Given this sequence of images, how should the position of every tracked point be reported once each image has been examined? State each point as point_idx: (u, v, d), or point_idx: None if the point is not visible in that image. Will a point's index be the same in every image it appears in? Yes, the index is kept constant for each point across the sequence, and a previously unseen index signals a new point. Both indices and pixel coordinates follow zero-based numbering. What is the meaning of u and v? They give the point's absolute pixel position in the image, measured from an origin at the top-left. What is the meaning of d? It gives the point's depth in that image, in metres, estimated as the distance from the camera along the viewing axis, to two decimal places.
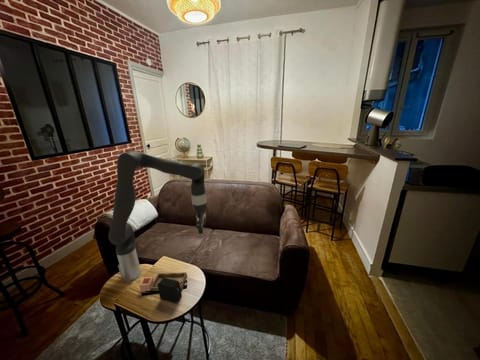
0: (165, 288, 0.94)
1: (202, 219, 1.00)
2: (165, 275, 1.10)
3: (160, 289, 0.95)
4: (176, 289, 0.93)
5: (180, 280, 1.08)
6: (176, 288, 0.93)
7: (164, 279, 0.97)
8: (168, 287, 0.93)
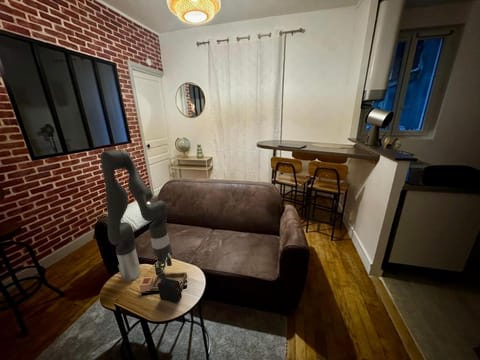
0: (165, 288, 0.94)
1: (164, 263, 0.88)
2: (165, 275, 1.10)
3: (160, 289, 0.95)
4: (176, 289, 0.93)
5: (180, 280, 1.08)
6: (176, 288, 0.93)
7: (164, 279, 0.97)
8: (168, 287, 0.93)
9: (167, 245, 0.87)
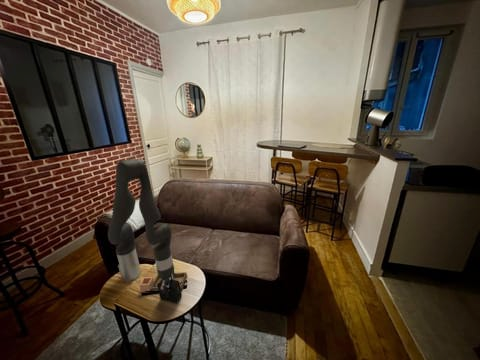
0: None
1: (168, 283, 0.92)
2: None
3: None
4: (176, 289, 0.93)
5: (180, 280, 1.08)
6: (176, 288, 0.93)
7: None
8: None
9: (171, 266, 0.90)
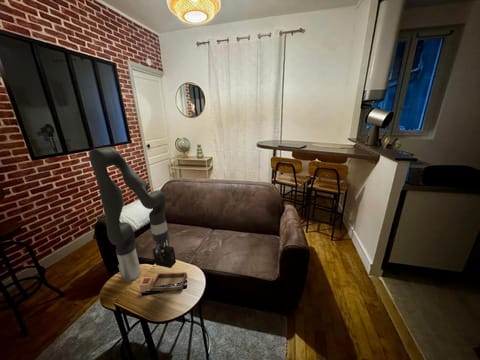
0: None
1: (163, 248, 0.97)
2: (165, 275, 1.10)
3: (155, 254, 1.00)
4: (170, 254, 0.98)
5: (180, 280, 1.08)
6: (170, 253, 0.98)
7: None
8: None
9: (165, 231, 0.96)
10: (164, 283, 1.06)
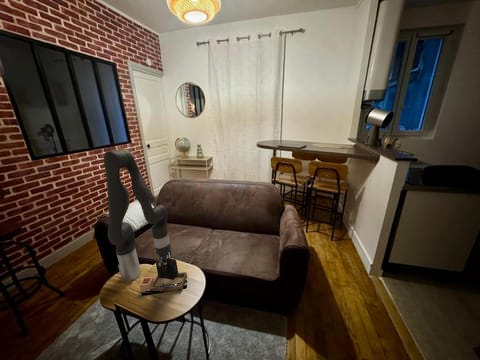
0: None
1: (166, 261, 0.99)
2: None
3: (158, 267, 1.02)
4: (173, 266, 1.01)
5: (180, 280, 1.08)
6: (173, 265, 1.01)
7: None
8: None
9: (168, 245, 0.98)
10: (164, 283, 1.06)
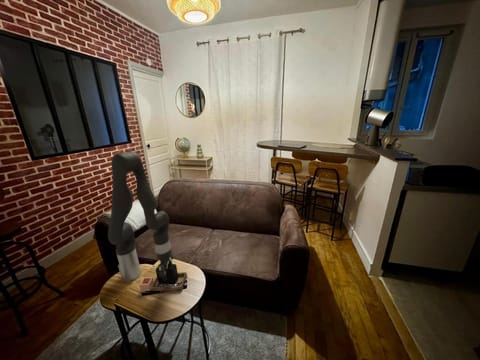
0: None
1: (166, 266, 0.99)
2: None
3: None
4: (174, 271, 1.04)
5: (180, 280, 1.08)
6: (174, 270, 1.04)
7: None
8: None
9: (169, 250, 0.99)
10: None
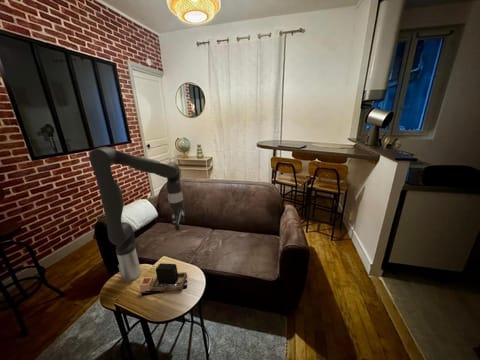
0: (163, 271, 1.03)
1: (178, 216, 1.03)
2: None
3: (158, 273, 1.04)
4: (174, 271, 1.04)
5: (180, 280, 1.08)
6: (174, 270, 1.04)
7: (161, 264, 1.06)
8: (166, 270, 1.03)
9: (181, 201, 1.03)
10: None
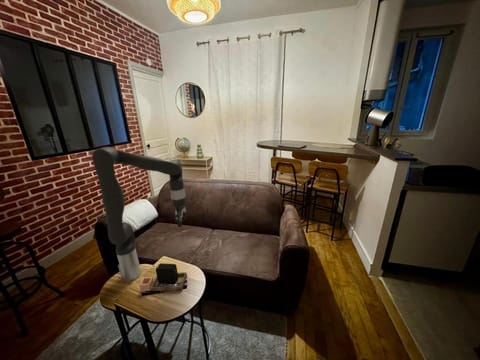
0: (163, 271, 1.03)
1: (181, 213, 1.05)
2: None
3: (158, 273, 1.04)
4: (174, 271, 1.04)
5: (180, 280, 1.08)
6: (174, 270, 1.04)
7: (161, 264, 1.06)
8: (166, 270, 1.03)
9: (184, 198, 1.05)
10: None
